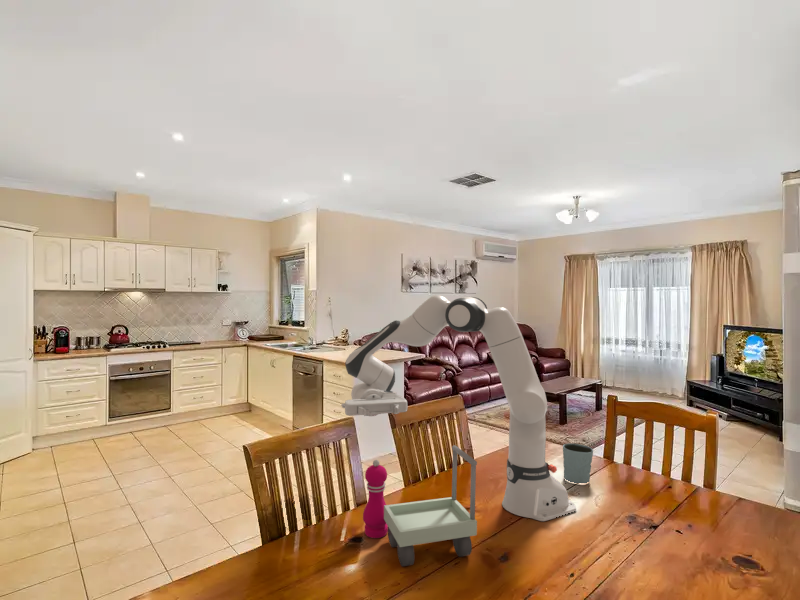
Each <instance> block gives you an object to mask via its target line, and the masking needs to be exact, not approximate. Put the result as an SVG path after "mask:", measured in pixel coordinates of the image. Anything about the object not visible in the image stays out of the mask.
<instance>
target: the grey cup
mask: <svg viewBox="0 0 800 600" xmlns="http://www.w3.org/2000/svg"><path fill="white" fill-rule="evenodd" d="M593 454H594V449H593V448H592V447H590V446H588V445H584V444H581V443H580V444H579V443H575V442H574V443H564V444H563V445H562V457H563V462H562V463H563V479H564V478H565V479H566V480H568V481H570V482H574V483H587V482H589V483H590V479H591V471H592V470H591V469H592V462H593Z"/></svg>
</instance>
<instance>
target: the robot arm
mask: <svg viewBox="0 0 800 600" xmlns="http://www.w3.org/2000/svg"><path fill="white" fill-rule="evenodd" d="M447 326H449V327H450V328H451V329H452V330H454V331H456V332H459V333H469V332H471V333H472V332H473V333H475V332H480V333H481V334H482V335H483V337H484V340H485V341H486V343H487V346H488V350H489V352H490V354H491V356H492V357H491V358H492V360H493V363H494V365H495V368H496V370H497V373H498V376H499V379H500V382H501V386H502V389H503V392H504V395H505V397H506V401H507V404H508V407H509V428H508V429H509V430H508V458H507V459H506V479H507V480H506V487H505V491H504V496H503V499H502V502H501V506H502V507H503V508H504V510H506V511H507V512H509V513H511V514H514V515H515V516H520V517H523V518H530V519H533V520H536V521H539V522H546V521H549V520H554V519H556V517H557V518H560V517H562V515H563V516H566V515H569V514H568V513H570V514H572V513H571V512H573V513H575V512H574V511H576V512H577V506H576V505H575V503H573V501H572V500H570V498H569V495H568V491H567V488H566V487H565V486H564V485H563V484H562V483H561V482H560V481H558V480H557V479H556V478H555V477H554V476H553V475H552V474H551V473H553V474H554V473H557V470H558V469H557V466H555V465H553V464H549V463H548V462H546V445H547V443H546V441H547V439H546V434H547V433H546V414H547V412H548V400H547V395H546V392H545V389H544V387H543V386H542V384H541V381H540V379H539V377H538V376H539V375H538V374H537V371H536V368H535V366H534V363H533V360H532V357H531V355H530V353H529V350H528V347H527V344H526V342H525V340H524V336H523V334H522V331H521V330H520V328H519V325H518V324H517V321H516V320H515V318H514V316H513V315H512V313H511V311H510V310H509V309H507V308H506V307H502V306H496V307H492V308H488V307H487V304H486V303H485V302H484V301H483V300H482V299H480V298H478V297H475V296H462V297H459V298H455V299H454V300H452V301H450V300H449V299H447V298H446V297H445V296H443V295H439V294H434V295H432V296H430V297H429V298H427V299H426V300H425V301H424V302H423V303H421V305H419V306H418V307H417V308H416V309H415V310H414V311H413V313H412V314H411V315H409V316H408V317H406V318H404V319H402V320H393V321H392V322H389V323H388V324H387V325H386V326H384V327H383V328H382V329H380V330H379V331H378V332H377V333H376V334H374V335H373V336H372V337H370V338H369V339H368V340H367V341H365V343H363V344H362V345H360V346H359V347H357V348H356V349H354V350H353V351H352V352H351V353H350V354H349V355H348V356H347V358H346V359H345V361H344V363H345V365H344V366H345V369H346V372H347V374H348V375H350V376H351V377H353V378H357V379H358V380H359V381H360V382H357V383H355V385H354V386H353V387H352V389H351V394H350V395H351V399H347V400H345V402H344V403H341V405H340V406H341V408H343V409H344V413H345V415H346V416H348V417H351V416H353V417H355V416H364V417H375V416H378V415H382V414H394V415H395V414H396V415H398V414H400V413H406V412H407V411H408V408H409V407H408V400H407V399H406V398H405V397H403V396H401V395H398V394H397V392H396V391H392V389H393V387H394V385H395V382H396V372H395V369H394V368H393V367H391V366H389V364H387V363H385V361H381V360H380V359H379V358H377V357H376V356H374V355H375V353H376V352H378V351H380V349H381V348H382V347H384V346H385V345H386V344H389V343H400V344H404V345H407V346H411V347H425V346H427V345H429V344H430V343H431V342H432V341H433V340H434V339H436V337H437V336H438V335H439V334H440V333H441V331H442V330H443V329H444V328H446V327H447ZM550 472H551V473H550ZM565 514H566V515H565ZM559 516H560V517H559Z"/></svg>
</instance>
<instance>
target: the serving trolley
mask: <svg viewBox="0 0 800 600" xmlns="http://www.w3.org/2000/svg"><path fill="white" fill-rule="evenodd" d="M451 449H452V472H451V473H452V479H451V496H450V497H443V498H442V497H440V498H433V499H425V500H417V501H410V502H402V503H401V502H400V503H394V504H393V503H391V504H386V505H384V520H385V522H386V524H387V526H388V532H387V535H388V536H387V537H388V542H389V545H390V547H391V548H396V551H397V557H398V561H399V564H400V566H401V567H407V566H408V567H409V566H413V565H414V563H415V546H416V545H417V546H418V545H422V544H429V543H437V542H442V541H447V540H452V544H453V548H454V551H455V554H456V555H457V556H458V557H459V558H460V557H466V556H470V555H471V554H472V548H473V543H472V540H471V537H474V536H477V534H478V521H477V519H476V518H475V517H476V489H477V488H476V483H477V482H476V479H477V471H476V470H477V465H478V462H477V460H475V459H474V458H473V457H472V456H471V455H469V454H468V453H466V452H465V451H464V450H462V449H461V448H460V447H458V446H457V445H455V444H454V445H452V446H451ZM458 455H459V456H460V457H461V458H463V460H465V461H466V462H467V463H469V464H470V495H469V496H470V500H469V501H470V502H469V503H470V505H469V506H470V507H469V511H468V510H467V509H466V508H465V507H464V506H463V505H462V504H461V503H460V502H459V501H458V500H457V486H458V485H457V482H458V481H457V479H458V478H457V476H458V475H457V474H458Z"/></svg>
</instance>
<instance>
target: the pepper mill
mask: <svg viewBox="0 0 800 600" xmlns="http://www.w3.org/2000/svg"><path fill="white" fill-rule="evenodd" d="M364 477H365V480H366V482H367V483H366V489H367V491H368V500H367V503H366V505H365V507H364V509H363V512H362V520H363V522H364V524H365V525H364V534H365V535H366V536H367V537H368V538H371V539H379V538H380V539H381V538H384V537H385V536H386V535H388V525H387V524H386V522H385V520H384V505H387V503H386V500H385V497H384V491H385V489H386V480H387V479H388V472H387V469H386V468H385V467H384V466H383V465H381V464H380V461H379V460H378V459H374V460H373V461H372V464H371V465H370V466H368V467H367V468H366V469H365V476H364Z"/></svg>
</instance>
